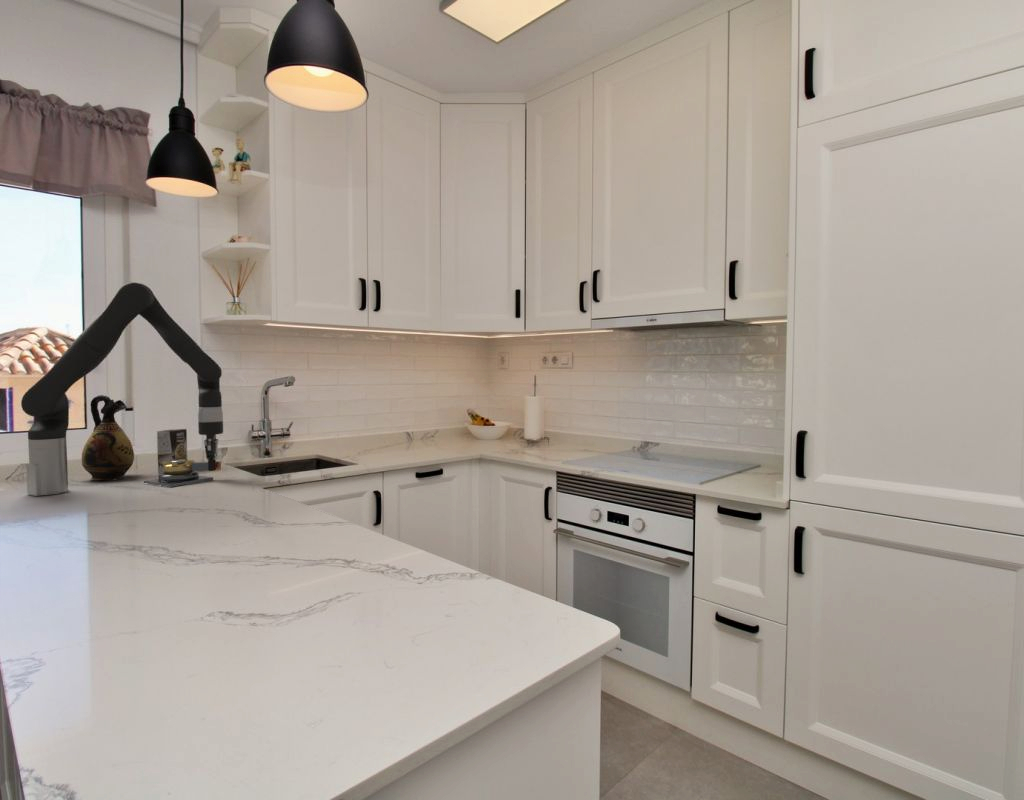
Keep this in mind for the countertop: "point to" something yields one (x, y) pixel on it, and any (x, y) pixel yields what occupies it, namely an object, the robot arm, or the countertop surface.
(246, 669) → the countertop surface
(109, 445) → the ceramic jug
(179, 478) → the housing
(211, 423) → the robot arm
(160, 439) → the coffee box
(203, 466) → the rotary lever handle
